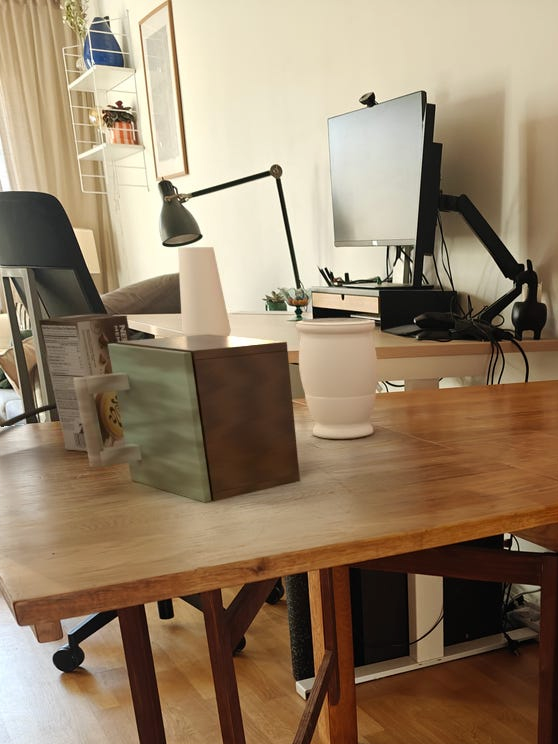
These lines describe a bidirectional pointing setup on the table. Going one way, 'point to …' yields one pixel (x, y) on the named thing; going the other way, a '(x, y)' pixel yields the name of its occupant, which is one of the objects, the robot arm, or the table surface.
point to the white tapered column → (201, 293)
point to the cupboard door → (150, 419)
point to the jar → (339, 375)
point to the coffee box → (83, 371)
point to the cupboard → (241, 410)
